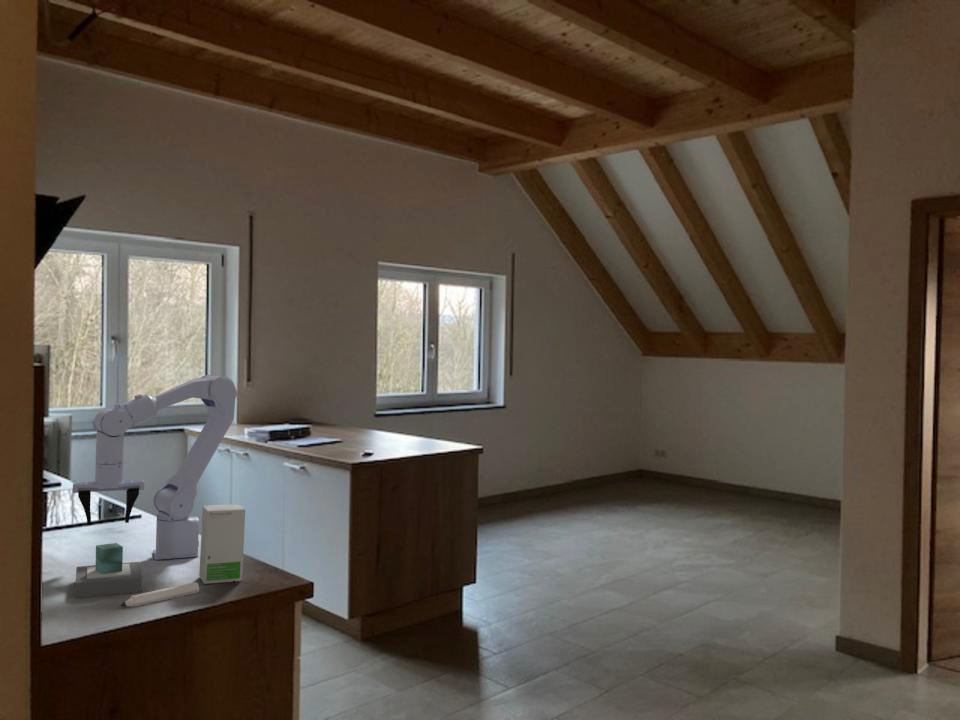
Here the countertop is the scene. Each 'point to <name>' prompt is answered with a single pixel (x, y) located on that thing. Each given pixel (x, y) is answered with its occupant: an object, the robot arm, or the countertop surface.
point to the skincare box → (222, 543)
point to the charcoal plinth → (107, 581)
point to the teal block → (109, 558)
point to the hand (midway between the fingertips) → (108, 523)
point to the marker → (161, 594)
